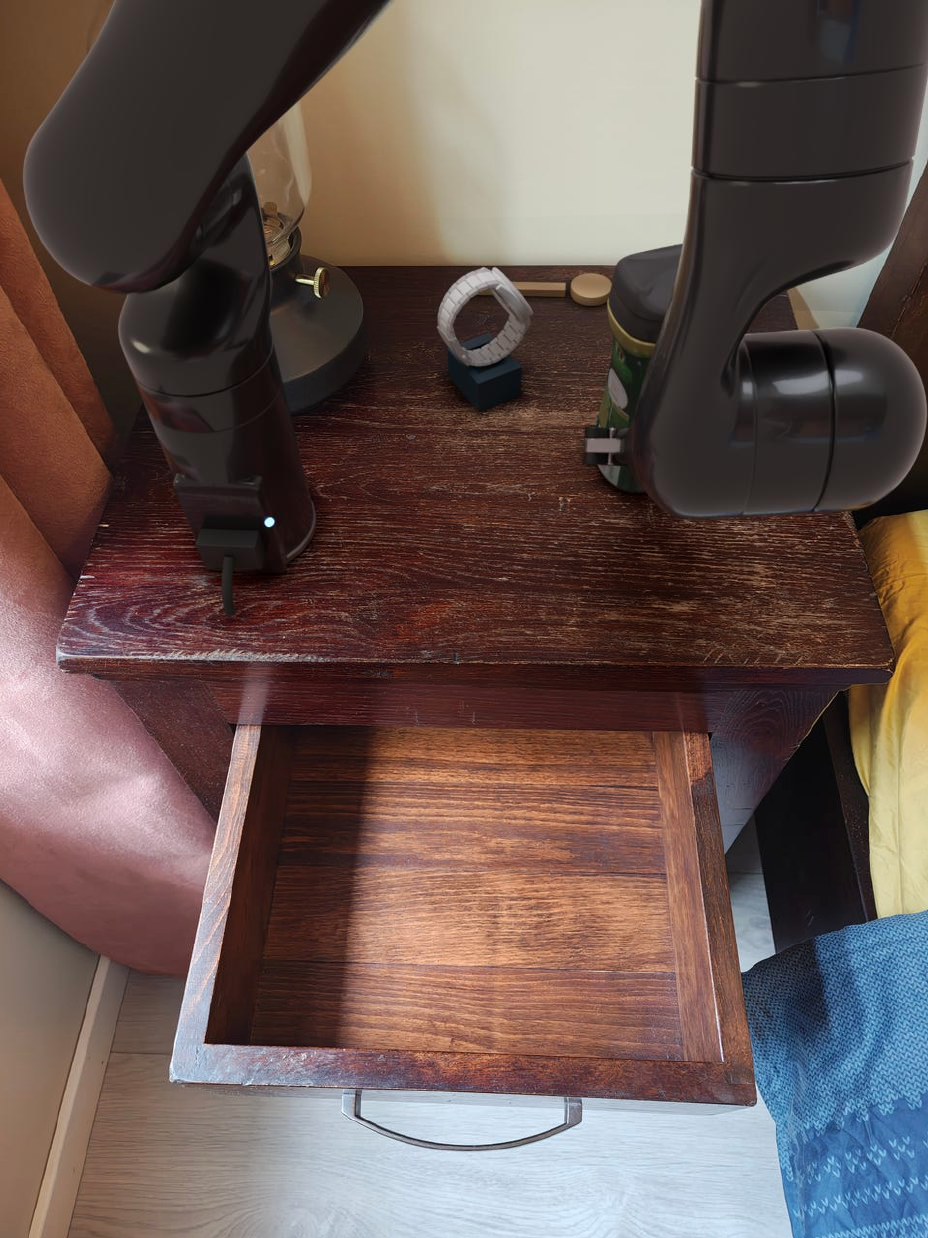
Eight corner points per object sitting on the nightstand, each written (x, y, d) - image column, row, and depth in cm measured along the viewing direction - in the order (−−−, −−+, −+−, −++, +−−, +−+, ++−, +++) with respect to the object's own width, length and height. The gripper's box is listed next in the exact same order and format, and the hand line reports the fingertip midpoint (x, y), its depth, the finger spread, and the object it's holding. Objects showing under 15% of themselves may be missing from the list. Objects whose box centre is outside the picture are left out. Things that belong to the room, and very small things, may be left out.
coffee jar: (684, 417, 79) (728, 214, 64) (723, 480, 74) (781, 277, 59) (578, 440, 77) (597, 239, 62) (612, 506, 73) (642, 306, 58)
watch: (539, 387, 82) (545, 278, 73) (461, 419, 79) (456, 310, 71) (507, 353, 84) (509, 244, 76) (431, 382, 82) (423, 274, 73)
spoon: (611, 306, 88) (612, 297, 87) (472, 303, 89) (472, 294, 88) (610, 282, 90) (611, 273, 90) (475, 279, 91) (475, 270, 91)
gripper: (826, 378, 51) (754, 404, 68) (586, 371, 52) (575, 399, 69) (813, 514, 52) (745, 506, 69) (578, 505, 53) (569, 499, 70)
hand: (660, 452), depth 69 cm, fingers closed
